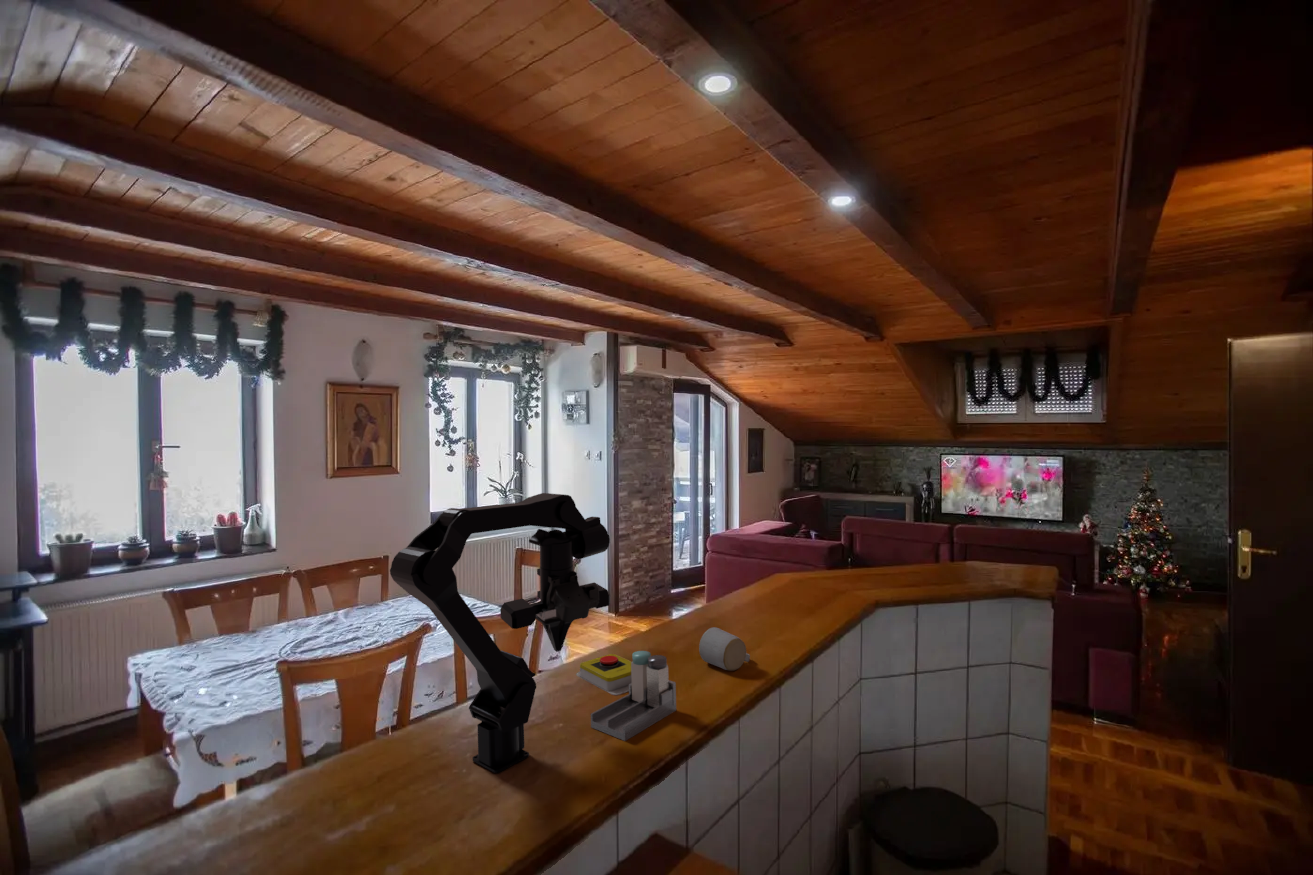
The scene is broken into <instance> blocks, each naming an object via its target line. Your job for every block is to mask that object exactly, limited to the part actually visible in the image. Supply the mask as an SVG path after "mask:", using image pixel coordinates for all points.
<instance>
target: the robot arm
mask: <svg viewBox="0 0 1313 875" xmlns="http://www.w3.org/2000/svg"><path fill="white" fill-rule="evenodd" d="M523 527H542V528H543V527H544V528H551V529H552V530H549V531H547V530H546V529H545V530H544V529H542V528H538V529H537V530H536V532H535V533H534V534H533V535H532V536H530V538H529V540H528V543H529V544H533V545H536V546H539V568H537V569H536V573H537V576H539V577H540V578H539V585H540V587H539V589H540V590H538V591H536V592H537V598H538V599H540V600H539V601H538V602H533V603H529V602H528V601H527V600H525V599H524V598H519V599H514V600H509V601H505V602H503V603H502V606H501V607H500V619H501V620H502V621H503V622H504V623H505V624H507V626H508V627H510V628H511V629H513V630H514V629H515V630H518V629H521V628H526V627H531V626H532V625H533V624H534V622H535V621H536V620H537V621H538V622H540V623H541V624H542V626H543V628H544V629H545V632H546V635H547V637H548V640H549V641H550V643H551V646H552V648H553V650H554V651H555V653H557V652H558V653H559V652H561V650H562V649H563V646H564V643H565V640H566V637H567V635H568V632H569V630H570V627H571V625H572V623H573V622H574V621H575V620H576V621H577V620H580V619H582V620H583V619H587V618H588V617H589V612H590V610H591V609H594V608H595V609H596V610H597V609H600V608H606V607H608V606H610V605H611V594H610V591H609V590H608V589H607V588H605V587H603V586H601V585H600V584H598V583H596V582H591V583H587V584H581V585H580V584H579V581H578V580H579V579H578V578H579V576H578V575H577V574H578V573H577V572H576V571H575V570H574V559H576V560H582V559H585V558H589V557H591V556H595V555H598V554H602V553H604V552H606V551H607V550H609V549H608V548H609V546H610V543H611V542H610V540H611V539H610V535H609V532H608V529H606V527H605V525H603V524H602V523H601V517H599V516H589V517H586V518H585V517H584V516H583V515H582V513H581V512H580V510H579V509H578V508H577V507H576V502H575V500H574V499H573V498H572V496H571V495H569V494H559V493H548V492H547V493H546V492H541V493H538V494H534V495H532V496H529V497H527V498H525V499H523V500H521V501H518V502H513V503H512V502H511V503H503V504H492V505H483V506H474V507H465V508H457V507H456V508H454V507H450V508H447V509H445V510H443V511H442V512H441V513H440V514H439V516H438V517H437V518H436V520H434V521H433V523H431V524H430V525H428V526H427V527H426V528H424V530H422V531H421V532H419V534H417V535H416V536H415V537H413V539H412V540H411V541H410V543H409V544H408V545H407V546H406V547H404V548H403V549H401V550H400V551H398V552H397V553H396V555H394V557H393V560H392V561H391V565H390V569H389V572H390V573H389V574H390V577H391V579H392V580H393V581H394V583H396V584H397V585H398V586H399V587H401V589H403V590H404V591H405V592H406V593H408V594H409V595H410V596H411V597H413V598H415V599H416V600H417V601H419V602H420V603H421V604H423V605H425V606H426V607H427V608H429V610H430V611H431V613H432V614H433V615H434V616H435V618H436V619H437V621H438V622H439V623H440V624H441V625H442V627H443V628H444V629H445V631H446V632H447V633H448V635H449V636H450V637H451V638H452V640H453V641H454V643H455V644H456V645H457V646H458V647H459V650H460V651H461V652H462V653H463V654H464V655H465V657H466V658H467V660H468V661H469V662H470V663H471V665H472V666H473V667H474V668H475V670H476V675H477V676H476V677H477V685H479V687H480V689H479V691H477V694H476V695H475V697H474V698H473V699H472V702H471V703H470V704H469V705H468V710H469V713H470V715H471V717H472V718H473V719H477V720H479V721H481V722H479V723H477V752H478V753H477V754H476V755H474V756H472V762H473V763H476V764H477V765H479V766H482V767H483V768H485V769H486V770H488V771H489V772H490V771H491V772H492V773H494V774H498V773H501V772H503V771H504V770H506V769H508V768H510V767H512V766H513V765H516V764H518V763H520V762H521V761H523V760H525V759H527V758H528V757H529V756H530V752H529V751H527V750H524V749H525V724H527V723H528V721H529V718H530V716H531V714H530V713H531V710H532V706H533V702H534V698H535V694H536V689H537V683H536V680H535V679H534V677H536V673H535V672H532V671H531V669H530V668H529V666H528V665H527V662H526V661H525V659H524V658H523V657H521V656H519V655H516V654H513V653H510V652H508V651H505V650H501V649H500V648H499V646H498V645H497V644H496V643H495V641H494V640H493V638H492V637H491V635H490V634H489V633H488V631H487V630H486V629H485V626H483V625H482V623H481V622H480V621H479V619H478V618H477V616H476V615H475V613H474V612H473V611H472V609H471V608H470V606H469V605H468V604H467V603H466V601H465V600H464V599H463V597H462V596H461V595H460V593H459V591H458V579H457V576H456V573H455V571H454V569H453V568H454V567H455V565H457V563H458V562H459V560H460V559H461V557H462V554H463V552H464V548H465V547H466V543H467V540H468V539H469V538H470V537H471V535H474V534H479V533H480V534H481V533H486V532H493V531H498V530H499V531H500V530H501V531H502V530H507V529H509V530H510V529H516V528H523ZM554 528H555V529H554ZM560 529H563V530H565V531H562V530H560Z"/></svg>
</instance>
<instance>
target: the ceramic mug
mask: <svg viewBox="0 0 1313 875" xmlns="http://www.w3.org/2000/svg"><path fill="white" fill-rule="evenodd" d="M698 648H699V649H698V651H699V655H700V656H699V657H701V658H700V659H702V660H703V661H704V662H706V663H708V664H711V665H712V666H715V667H717V668H721V669H723V670H725V671H730V672H731V671H732V672H733V671H737V670H738V669H740V668H741V667H742V666H743V665H744V663H745V662H746V663H749V662H750V660H751V655H750V654H749V653H747V648H746V644H745V642H744V641H743V640H742V639H741V638H740V637H738V636H737V635H734V634H732V633H729V632H728V631H725V630H722V629H721V628H719V627H713V626H712V627H710V628H708V629H707V630H706V631H705V632H704V633H703V634H702V636H701V637H700V641H699V645H698Z"/></svg>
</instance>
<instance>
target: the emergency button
mask: <svg viewBox="0 0 1313 875" xmlns="http://www.w3.org/2000/svg"><path fill="white" fill-rule="evenodd" d="M631 662H632V661H631V660H629V659H627V658H624V657H622V656H620V655H617V654H615V653H609V654H606V655H603V656H600V657H597V658H593V659H589V660H586V661H582V662H580V664H579V671H578V672H577V673H576V674H575V675H576V676H577V677H579V678H580V679H582V680H583V681H584V680H585V681H586V682H588V683H589V684H592V685H593V686H595V687H597V688H599V689H600V690H603V692H604V691H605V692H606V693H609V695H612V696H620V695H623V694H626V693H629V684H631V683H632V678H631Z"/></svg>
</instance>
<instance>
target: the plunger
mask: <svg viewBox="0 0 1313 875" xmlns="http://www.w3.org/2000/svg"><path fill="white" fill-rule="evenodd" d="M631 655H632V656H631V657H632V661H631V678H632V700H634V701H637V702H640V701H642V700H644V689H646V688H647V666H648V658H649V657H650V656H652V654H651V652H650V651H647V650H638V651H637V650H636V651H634V652H633V653H632V654H631Z"/></svg>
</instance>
